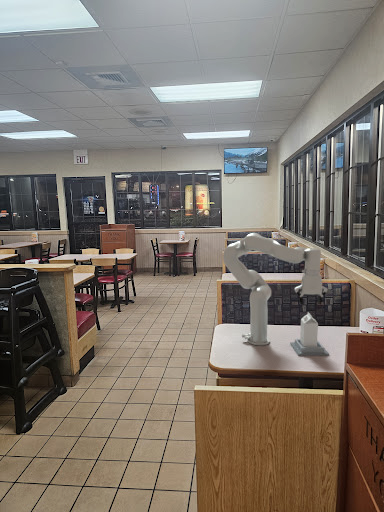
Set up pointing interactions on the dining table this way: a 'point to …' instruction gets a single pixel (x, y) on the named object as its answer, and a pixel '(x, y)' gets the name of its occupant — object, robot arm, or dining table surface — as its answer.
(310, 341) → the milk carton
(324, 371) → the dining table surface
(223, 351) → the dining table surface
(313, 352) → the carton tray
